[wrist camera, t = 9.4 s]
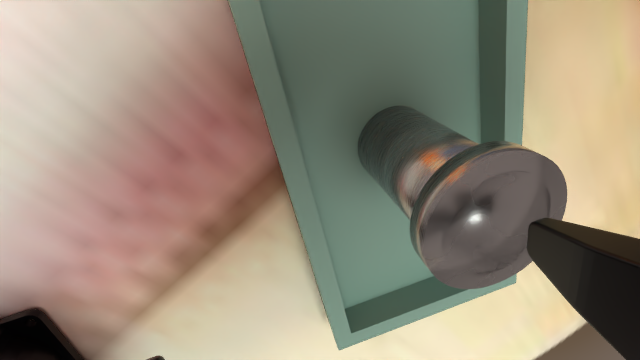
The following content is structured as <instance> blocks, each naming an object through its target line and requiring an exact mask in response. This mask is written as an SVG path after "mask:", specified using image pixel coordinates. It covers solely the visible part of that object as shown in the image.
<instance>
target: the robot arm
mask: <svg viewBox="0 0 640 360" xmlns="http://www.w3.org/2000/svg"><path fill="white" fill-rule="evenodd" d="M527 251H528V254H529V256H530V258H531V259H532V260H533V261H534V262H535V264H536V265H537V266H538V267H539V268H540V269H541V271H542V272H543V273H544V274H545V275H546V277H547V278H548V279H549V280H550V281H551V282H552V284H553V285H554V286H555V287H556V288H557V289H558V291H559V292H560V293H561V294H562V295H563V296H564V298H565V299H566V300H567V301H568V302H569V303H570V304H571V306H572V307H573V308H574V309H575V310H576V311H577V312H578V313H579V314H580V315H581V316H582V317H583V318H584V319H585V320H586V321H587V322H588V323H589V324H590V325H591V326H592V327H593V328H594V329H595V330H596V331H597V332H598V333H599V334H600V335H601V336H602V337H603V338H604V339H605V340H606V341H608V343H610V344H611V345H612V346H613V347H614V348H615V349H616V350H617V351H618V352H619V353H620V354H621V355H622V356H623V357H624V358H625V359H626V360H640V239H638V238H633V237H629V236H625V235H621V234H616V233H612V232H608V231H603V230H599V229H595V228H591V227H586V226H582V225H578V224H573V223H569V222H565V221H561V220H556V219H552V218H542V219H539V220H536V221H533V222H531V223H530V225H529V227H528V239H527ZM30 319H34V320H35V321H33V320H30ZM0 360H83V359H82V357H81V356H80V355H79V354H78V353H77V351H76V350H75V349H74V348H73V347H72V346H71V344H70V343H69V342H68V341H67V340H66V339H65V337H64V336H63V335H62V334H61V333H60V331H59V330H58V329H57V328H56V327H55V326H54V324H53V323H52V322H51V321H50V320H49V319H48V317H47V316H46V315H45V314H44V313H43V312H42V311H39V310H35V309H32V310H27V311H24V312H21V313H18V314H15V315H12V316H9V317H6V318H3V319H0ZM147 360H165V359H164V358H163V357H162V356H155V357H152V358H149V359H147Z"/></svg>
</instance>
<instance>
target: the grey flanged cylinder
mask: <svg viewBox="0 0 640 360" xmlns="http://www.w3.org/2000/svg"><path fill="white" fill-rule="evenodd" d="M358 156H359V160H360V162H361V164H362V166H363V167H364V168H365V169H366V171H367V172H368V173H369V174H370V175H371V176H372V178H373V179H374V180H375V181H376V182H377V183H378V184H379V186H380V187H381V188H382V189H383V190H384V191H385V192H386V194H387V195H388V196H389V197H390V198H391V199H392V200H393V202H394V203H395V204H396V205H397V206H398V207H399V209H400V210H401V211H402V212H403V213H404V214H405V215H406V217H407V218H408V219H409V220H410V227H409V228H410V238H411V243H412V245H413V248H414V250H415V252H416V253H417V255H418V256H419V257H420V259H421V260H422V261H423V263H424V264H425V265H426V266H427V268H428V269H429V270H430V271H431V273H432V274H433V275H434V276H435V277H436V278H437V279H438V280H439V281H441V282H442V283H444V284H446V285H448V286H451V287H454V288H459V289H478V288H483V287H488V286H491V285H494V284H497V283H499V282H501V281H504V280H506V279H507V278H509V277H511V276H513V275H515V274H516V273H518V272H519V271H521V270H522V269H523V268H525V267H526V266H527V265H529V264H530V263H531V262H532V261H533V260H532V259H531V258H530V256H529V254H528V251H527V239H528V227H529V225H530V223H531V222H533V221H536V220H539V219H542V218H552V219H556V220H561V221H562V218H563V215H564V212H565V208H566V203H567V186H566V182H565V178H564V176H563V174H562V172H561V170H560V169H559V167H558V166H557V165H556V164H555V163H554V162H553V161H552V160H550V159H548V158H547V157H545V156H543V155H541V154H539V153H536V152H534V151H532V150H530V149H528V148H526V147H524V146H522V145H519V144H516V143H513V142H508V141H492V142H486V143H482V144H478V143H476V142H474V141H472V140H471V139H469V138H467V137H465V136H463V135H461V134H459V133H458V132H456V131H454V130H452V129H450V128H448V127H447V126H445V125H443V124H441V123H439V122H437V121H436V120H434V119H432V118H430V117H428V116H426V115H425V114H423V113H421V112H419V111H417V110H415V109H414V108H411V107H408V106H392V107H388V108H386V109H384V110H382V111H380V112H378V113H377V114H375V115H374V116H373V117H372V118H371V119H370V120H369V121H368V122H367V124H366V125H365V126H364V128H363V130H362V132H361V134H360V137H359V141H358Z"/></svg>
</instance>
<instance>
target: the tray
mask: <svg viewBox="0 0 640 360" xmlns="http://www.w3.org/2000/svg"><path fill="white" fill-rule="evenodd" d="M228 3H229V6H230V9H231V12H232V16H233V19H234V22H235V25H236V28H237V32H238V35H239V38H240V41H241V44H242V47H243V51H244V54H245V57H246V60H247V63H248V66H249V70H250V73H251V76H252V79H253V82H254V85H255V89H256V92H257V95H258V98H259V101H260V105H261V108H262V111H263V114H264V117H265V120H266V124H267V127H268V130H269V133H270V136H271V139H272V143H273V146H274V149H275V152H276V155H277V158H278V162H279V165H280V168H281V171H282V174H283V178H284V181H285V184H286V187H287V190H288V193H289V197H290V200H291V203H292V206H293V209H294V212H295V216H296V219H297V222H298V225H299V228H300V231H301V235H302V238H303V241H304V244H305V247H306V251H307V254H308V257H309V260H310V263H311V266H312V270H313V273H314V276H315V279H316V282H317V285H318V289H319V292H320V295H321V298H322V301H323V304H324V308H325V311H326V314H327V317H328V320H329V323H330V326H331V329H332V332H333V335H334V338H335V341H336V344H337V347H338V350H342V349H344V348H347V347H349V346H352V345H355V344H357V343H360V342H362V341H365V340H368V339H370V338H373V337H376V336H378V335H381V334H383V333H386V332H389V331H391V330H394V329H397V328H399V327H402V326H404V325H407V324H410V323H412V322H415V321H417V320H420V319H423V318H425V317H428V316H431V315H433V314H436V313H438V312H441V311H444V310H446V309H449V308H452V307H454V306H457V305H459V304H462V303H465V302H467V301H470V300H472V299H475V298H478V297H480V296H483V295H486V294H488V293H491V292H493V291H496V290H499V289H501V288H504V287H506V286H509V285H512V284H514V283H516V274H515V275H513V276H511V277H509V278H507V279H506V280H504V281H501V282H499V283H497V284H494V285H491V286H488V287H483V288H478V289H459V288H454V287H451V286H448V285H446V284H444V283H442V282H441V281H439V280H438V279H437V278H436V277H435V276H434V275H433V274H432V273H431V271H430V270H429V269H428V268H427V266H426V265H425V264H424V263H423V261H422V260H421V259H420V257H419V256H418V255H417V253H416V252H415V250H414V248H413V245H412V243H411V238H410V228H409V227H410V220H409V219H408V218H407V217H406V215H405V214H404V213H403V212H402V211H401V210H400V209H399V207H398V206H397V205H396V204H395V203H394V202H393V200H392V199H391V198H390V197H389V196H388V195H387V194H386V192H385V191H384V190H383V189H382V188H381V187H380V186H379V184H378V183H377V182H376V181H375V180H374V179H373V178H372V176H371V175H370V174H369V173H368V172H367V171H366V169H365V168H364V167H363V166H362V164H361V162H360V160H359V156H358V141H359V137H360V134H361V132H362V130H363V128H364V126H365V125H366V124H367V122H368V121H369V120H370V119H371V118H372V117H373V116H374V115H375V114H377V113H378V112H380V111H382V110H384V109H386V108H388V107H392V106H408V107H411V108H414V109H415V110H417V111H419V112H421V113H423V114H425V115H426V116H428V117H430V118H432V119H434V120H436V121H437V122H439V123H441V124H443V125H445V126H447V127H448V128H450V129H452V130H454V131H456V132H458V133H459V134H461V135H463V136H465V137H467V138H469V139H471V140H472V141H474V142H476V143H478V144H482V143H486V142H492V141H508V142H513V143H516V144H519V145H522V131H523V107H524V83H525V59H526V36H527V12H528V0H228Z"/></svg>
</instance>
